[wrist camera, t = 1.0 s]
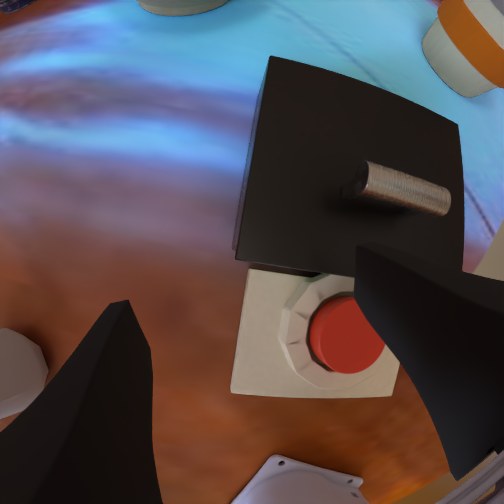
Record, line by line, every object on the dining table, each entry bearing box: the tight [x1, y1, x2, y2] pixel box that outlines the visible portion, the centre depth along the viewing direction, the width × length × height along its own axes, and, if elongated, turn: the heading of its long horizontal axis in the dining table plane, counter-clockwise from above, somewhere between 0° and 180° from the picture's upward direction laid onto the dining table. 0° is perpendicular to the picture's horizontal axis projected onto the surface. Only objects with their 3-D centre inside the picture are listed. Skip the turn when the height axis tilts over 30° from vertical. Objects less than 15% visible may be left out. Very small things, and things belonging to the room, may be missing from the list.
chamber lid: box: [235, 56, 464, 278], centre depth 14 cm, size 12×14×4 cm
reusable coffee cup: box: [422, 0, 504, 98], centre depth 16 cm, size 12×13×15 cm
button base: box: [230, 269, 400, 398], centre depth 18 cm, size 9×12×3 cm
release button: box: [310, 296, 385, 374], centre depth 17 cm, size 4×4×2 cm
